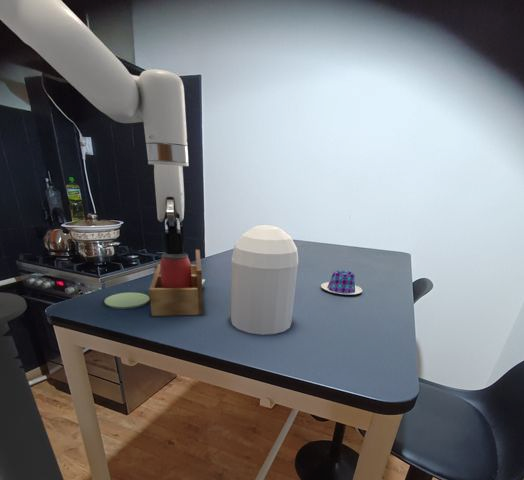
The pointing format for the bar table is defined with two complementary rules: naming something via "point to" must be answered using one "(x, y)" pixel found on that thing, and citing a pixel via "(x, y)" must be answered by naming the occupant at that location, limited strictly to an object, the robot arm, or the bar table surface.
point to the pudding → (342, 283)
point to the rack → (177, 294)
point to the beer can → (175, 271)
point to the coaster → (126, 300)
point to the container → (263, 280)
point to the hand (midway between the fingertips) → (176, 249)
